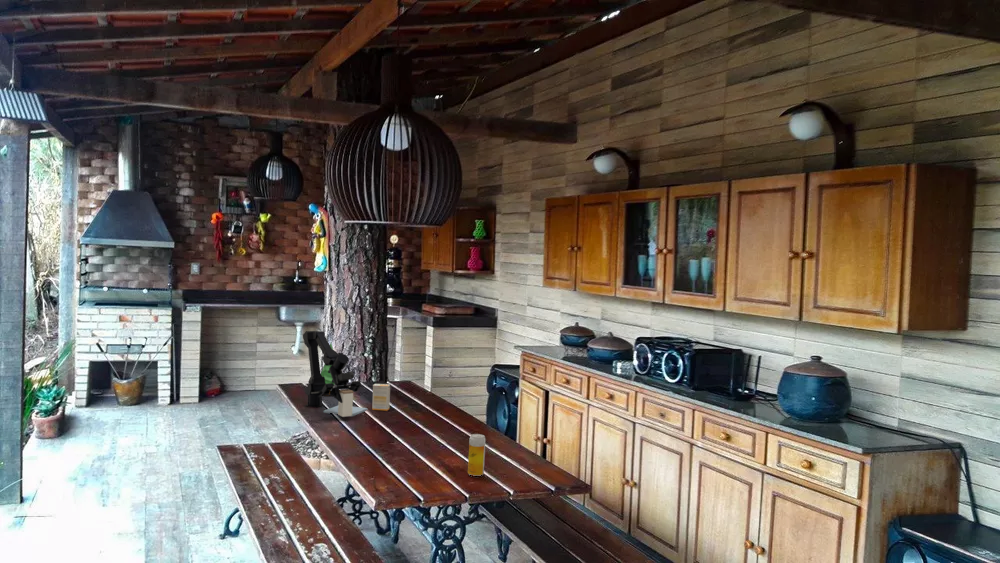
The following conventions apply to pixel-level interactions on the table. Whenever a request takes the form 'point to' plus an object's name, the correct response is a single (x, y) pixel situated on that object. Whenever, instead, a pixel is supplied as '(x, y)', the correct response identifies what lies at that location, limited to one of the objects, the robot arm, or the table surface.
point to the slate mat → (354, 410)
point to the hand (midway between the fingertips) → (346, 402)
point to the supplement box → (381, 397)
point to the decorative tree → (325, 372)
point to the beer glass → (476, 455)
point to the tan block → (345, 403)
